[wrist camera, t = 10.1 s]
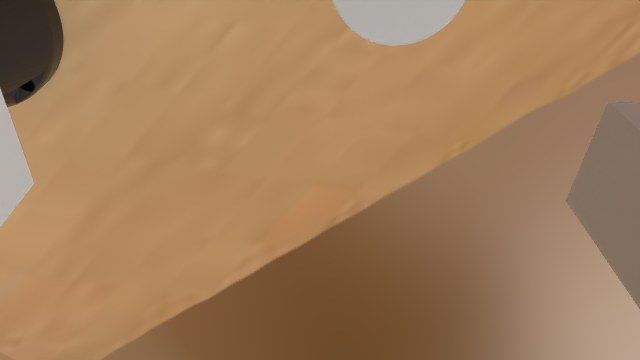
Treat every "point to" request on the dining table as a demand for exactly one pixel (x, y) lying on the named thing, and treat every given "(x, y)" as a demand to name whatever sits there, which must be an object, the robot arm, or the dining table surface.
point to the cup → (397, 18)
